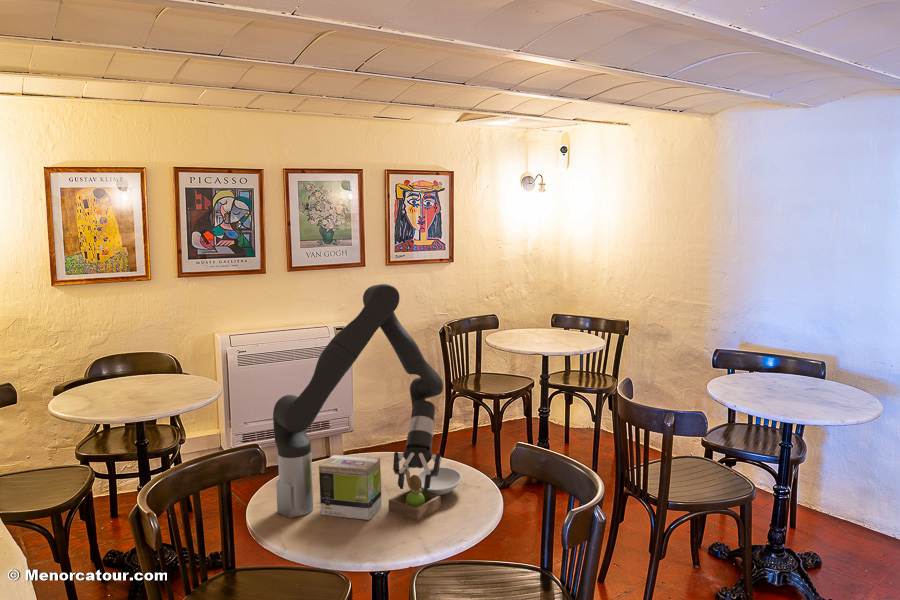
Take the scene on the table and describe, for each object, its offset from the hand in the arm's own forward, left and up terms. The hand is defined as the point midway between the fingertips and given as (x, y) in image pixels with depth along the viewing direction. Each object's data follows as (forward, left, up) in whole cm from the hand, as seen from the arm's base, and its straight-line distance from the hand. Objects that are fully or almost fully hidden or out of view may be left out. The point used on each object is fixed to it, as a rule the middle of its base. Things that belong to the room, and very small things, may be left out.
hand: (413, 488), depth 179 cm
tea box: (-10, +15, -7) cm, 19 cm away
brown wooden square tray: (+1, +1, -7) cm, 7 cm away
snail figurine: (+2, +1, -7) cm, 8 cm away
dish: (+14, +2, -7) cm, 16 cm away
